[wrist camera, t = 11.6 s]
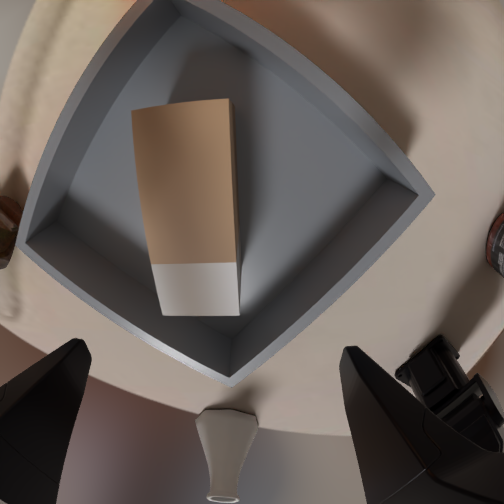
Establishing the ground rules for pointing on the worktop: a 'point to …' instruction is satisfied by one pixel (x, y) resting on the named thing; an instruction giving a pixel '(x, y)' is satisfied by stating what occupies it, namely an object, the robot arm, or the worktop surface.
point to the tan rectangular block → (190, 204)
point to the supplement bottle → (496, 245)
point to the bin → (249, 183)
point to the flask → (225, 449)
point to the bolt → (8, 228)
